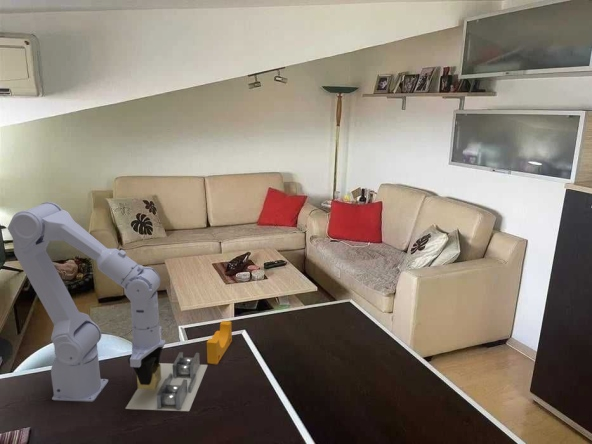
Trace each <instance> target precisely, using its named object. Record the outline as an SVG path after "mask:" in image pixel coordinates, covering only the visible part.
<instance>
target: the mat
mask: <svg viewBox="0 0 592 444" xmlns="http://www.w3.org/2000/svg"><path fill="white" fill-rule="evenodd" d="M159 364H160V365H161V380H160V382H159V384H158V386H157V388H156V389H138V388H137V389H136V390H135V392H134V393H133V395H132V396H131V398H130V400H129V402H128V404H127V405H126V406H125V409H126V410H148V411H172V412H173V411H174V412H190V410H191V408H192V405H193V402H194V400H195V398H196V395H197V393H198V390H199V389H200V388H199V387H200V386H201V383H202V380H203V377H204V375H205V373H206V370H207V368H208V366H209V365H208V364H200V366H199V368H198V370H197V373H196V382H195V384H194V386H193V389H192V391H191V393H187V396H186V398H185V400H184V403H183V405H182V407H181V409H180V410H177V408H176V405H163V407H162V409H157V393H158V391H159V390H160V388H161V386H162V384H163V382H164V380H165V379H167V378H168V376H169V374H170V373H172V376H173V364H174V363H168V362H167V363H166V362H165V363H164V362H163V363H162V362H161V363H160V362H159ZM184 379H185V380H187V390H188V386H189V384H190V382H191V379H190V375H178V376H177V378H173V379H172V381H171V383H170V385H181V384H182V382H183V380H184Z"/></svg>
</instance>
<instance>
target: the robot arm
mask: <svg viewBox="0 0 592 444" xmlns="http://www.w3.org/2000/svg"><path fill="white" fill-rule="evenodd" d="M7 230H8V232H9V234H10V236H11V238H12V244H13V245H12V246H13V253H14V255H15V257H16V259H17V261H18V263H19V264H20V266H21V268H22V269H23V272H24V273H25V276H26V277H27V279H28V280H29V283H30V284H31V286H32V289H34V292H35V293H36V294H37V297H38V299H39V301H40V302H41V304H42V307H44V310H45V311H46V313H47V315H48V317H49V318H50V320H51V322H52V324H53V329H52V333H51V337H50V340H51V342H52V344H53V348H54V355H55V358H54V360H53V362H52V364H51V370H50V374H51V384H52V390H53V396H52V397H51V400H53V401H67V402H69V401H70V402H89V403H90V402H91V403H92V402H94V401H95V400H96V399H97V398H98V397H99V395H100V393H101V392H102V391H103V389H104V388H105V386H106V385H107V384H108V382H109V379H107V378H101V372H100V360H99V351H98V343H99V342H100V340H101V338H102V330H101V328H100V326H99V325H98V324H97V323H96V322H94V321H93V320H92V319H91V317H90V315H89V314H87V313H85V312H82V311H81V312H80V310H79V309H78V308H77V305H76V304H75V301H74V300H73V298H72V296H71V294H70V292H69V289H68V288H67V287H66V284H65V283H64V281H63V280H62V277H61V276H60V274H59V272H58V270H57V268H56V266H55V264H54V263H53V261H52V258H51V257H50V255H49V254H48V252H47V248H48V245H50V242H53V241H63V242H65V243H66V244H69V245H70V246H72V247H73V248H75V249H77V250H78V251H79V252H81V253H83V254H84V255H85V256H87V257H89V258H91V259H92V260H93V261H95V262H96V266H97V270H98V271H100V272H101V273H102V274H104V275H105V276H106V277H108V278H109V279H111V280H112V281H113V282H115V283H116V284H117V285H119V286H120V287H121V288H123V289H124V290H123V291H124V295H125V296H126V297H127V299H128V300H129V301H130V313H131V314H130V315H131V327H132V328H131V329H132V331H131V332H132V344H131V354H130V356H129V357H128V359H127V361H128V365H130V366H129V367H130V368H132V369H133V370H134V373H135V375H136V377H137V376H138V379H139V382H140V384H141V385H150V383H151V378H152V368H153V364H154V363H155V364H159V363H160V360H161V355H162V351H163V349H164V347H165V344H166V340H165V339H162V334H163V329H162V326H160V313H159V299H158V297H159V296H158V291H157V290H158V289H159V287H160V285H161V276H160V274H159V272H157V271H156V270H155V268H153V267H150V266H143V265H142V264H138V263H137V262H136V261H135V260H133V259H132V258H131V257H129V256H128V255H127V252H126V251H125V250H123V249H120V250H119V249H118V248H107V246H105V245H104V244H102V243H101V242H100V241H99V240H98V239H96V238H95V237H94V236H93V235H92V234H90V233H89V232H88V231H87V230H86V229H85V228H84V227H82V226H81V225H80V224H79V223H77V222H76V221H75V220H74V219H73V217H72V216H71V214H70V212H68V211H67V210H65V209H63V208H62V207H61V206H60V205H59V204H57V203H55V202H52V201H45V202H43V203H41V204H38V205H36V206H33V207H31V208H27V209H26V210H21V211H18V212H16V213H15V214H14V215H13V216H12V218H11V220H10V222H9V225H7Z"/></svg>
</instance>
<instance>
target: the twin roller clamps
mask: <svg viewBox="0 0 592 444" xmlns="http://www.w3.org/2000/svg"><path fill="white" fill-rule="evenodd" d="M200 363H201V362H200V353H199V352H196V353H195V354H194V356H193V357H184V352H183V351H179V352H178V354H177V357H176V358H175V360H174V362H173V363H172V364H173V376H172V373H170V374H169V376H168V378H167V379H165V380H164V382H163V384H162V386H161V388H160V390H159V391H158V393H157V409H162V407H163V405H176V408H177V410H180V409H181V407H182V405H183V403H184V400H185V398H186V396H187V393H191V391H192V389H193V386H194V384H195V382H196V373H197V370H198V368H199V366H200V365H201V364H200ZM178 375H190V379H191V382H190V384H189V386H188V390H187V380H185V379H184V380H183V382H182V384H181V385H170V383H171V381H172V379H173V378H177V376H178Z"/></svg>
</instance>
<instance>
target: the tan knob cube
mask: <svg viewBox="0 0 592 444" xmlns="http://www.w3.org/2000/svg"><path fill="white" fill-rule="evenodd" d="M136 380H137V381H136V382H137V389H156V388H157V386H158V384H159V382H160V380H161V365H160V364H155V363H154V364H153V368H152V378H151V383H150V385H141V384H140V382H139V379H138V376H137V375H136Z"/></svg>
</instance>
